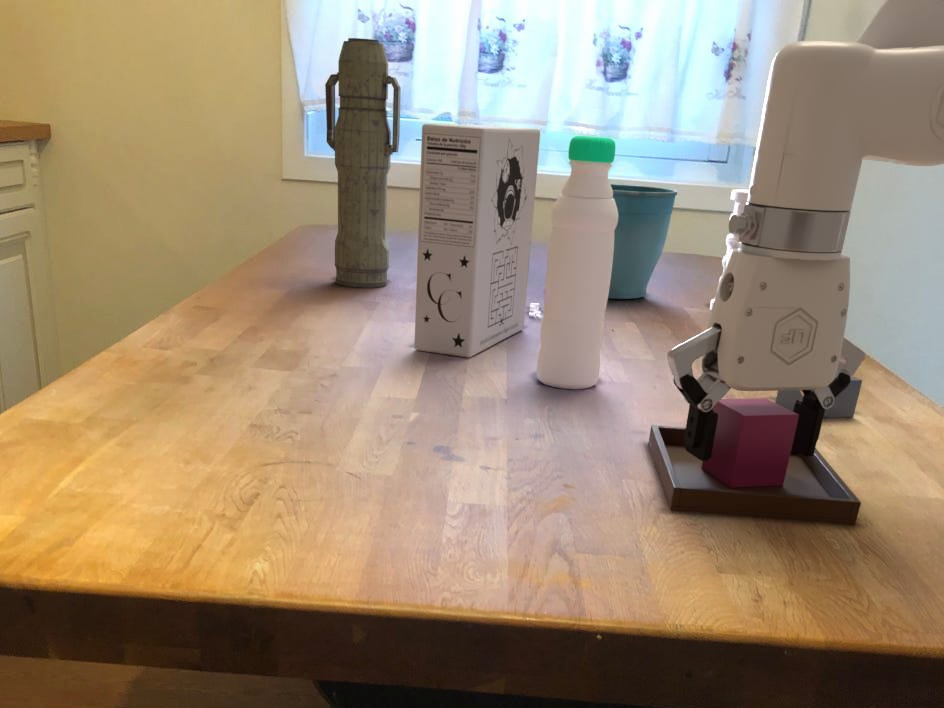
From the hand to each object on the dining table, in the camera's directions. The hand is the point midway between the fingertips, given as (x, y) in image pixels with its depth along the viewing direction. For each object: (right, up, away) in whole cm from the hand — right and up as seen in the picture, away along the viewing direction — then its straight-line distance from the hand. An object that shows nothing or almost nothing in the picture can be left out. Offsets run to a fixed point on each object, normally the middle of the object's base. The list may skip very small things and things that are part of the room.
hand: (748, 453), depth 82 cm
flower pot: (+1, +44, +88) cm, 98 cm away
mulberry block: (0, -2, +1) cm, 2 cm away
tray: (0, -3, +1) cm, 3 cm away
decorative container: (+23, +38, +80) cm, 92 cm away
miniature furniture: (-16, +33, +66) cm, 76 cm away
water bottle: (-12, +14, +30) cm, 35 cm away
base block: (+14, +10, +26) cm, 31 cm away
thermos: (-41, +44, +83) cm, 102 cm away
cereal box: (-23, +24, +48) cm, 58 cm away
